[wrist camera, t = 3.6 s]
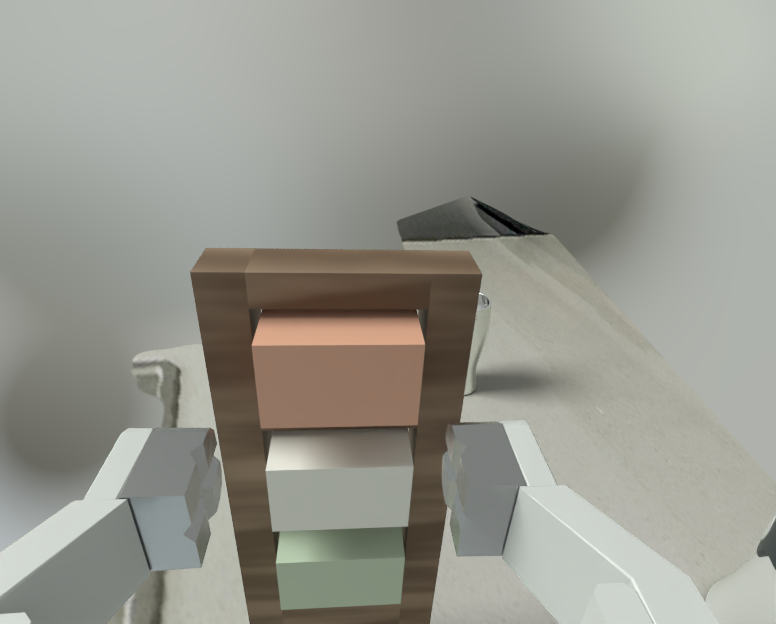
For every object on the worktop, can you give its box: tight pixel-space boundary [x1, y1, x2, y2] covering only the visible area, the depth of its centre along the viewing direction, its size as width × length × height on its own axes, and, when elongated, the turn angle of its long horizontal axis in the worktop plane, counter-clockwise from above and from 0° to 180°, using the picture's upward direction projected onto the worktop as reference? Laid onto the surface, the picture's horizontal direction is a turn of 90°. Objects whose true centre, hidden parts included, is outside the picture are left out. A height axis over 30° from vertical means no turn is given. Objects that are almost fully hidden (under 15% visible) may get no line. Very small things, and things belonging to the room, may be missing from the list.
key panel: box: [190, 248, 482, 624], centre depth 34 cm, size 3×14×37 cm, turn 94°
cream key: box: [266, 428, 414, 532], centre depth 30 cm, size 4×8×5 cm, turn 94°
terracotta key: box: [252, 309, 425, 428], centre depth 26 cm, size 4×8×5 cm, turn 94°
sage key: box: [276, 527, 405, 610], centre depth 33 cm, size 4×8×5 cm, turn 94°
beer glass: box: [464, 292, 492, 395], centre depth 73 cm, size 7×7×15 cm
